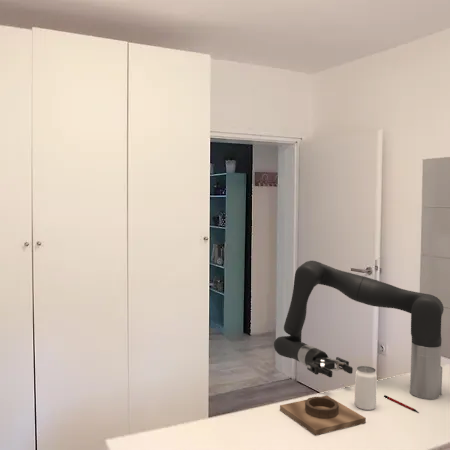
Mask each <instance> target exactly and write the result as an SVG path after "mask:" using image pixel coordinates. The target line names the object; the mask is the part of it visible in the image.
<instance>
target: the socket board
mask: <svg viewBox="0 0 450 450" xmlns="http://www.w3.org/2000/svg"><path fill="white" fill-rule="evenodd" d="M279 410H280V411H281V412H282V413H283V414H285V415H286V416H287V417H289V418H291V420H293V421H294V422H296V423H298V424H299V425H300V426H301V427H302V428H304V429H306V430H307V431H308V432H309V433H311V434H312V435H314V436H319V435H323V434H326V433H327V434H328V433H331V432H334V431H335V432H336V431H338V430H342V429H343V430H344V429H347V428H352V427H354V426H355V427H356V426H359V425H362V424H366V420H367V418H366V417H365V416H363V415H362V414H360V413H358V412H357V411H354V410H353V409H351V408H349V407H348V406H346V405H345V404H342V403H341V402H339V401H337V400H336V399H334V398H332V397H331V396H328V395H322V396H313V397H309V398H306V399H304V400H303V399H302V400H298V401H294V402H290V403H285V404H280V405H279Z"/></svg>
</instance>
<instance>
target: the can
mask: <svg viewBox="0 0 450 450" xmlns="http://www.w3.org/2000/svg"><path fill="white" fill-rule="evenodd" d="M356 367H357V366H356ZM377 375H378V374H377V372H376V368H375V367H372V366H370V365H369V366H367V365H360V366H358V367H357V368H356V371H355V381H354V405H355V407H356V408H357V409H359V410H363V411H373V410H374V409H376V407H377V389H378V388H377V386H378V385H377V383H378V381H377V378H378V376H377Z"/></svg>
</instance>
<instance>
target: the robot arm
mask: <svg viewBox="0 0 450 450" xmlns="http://www.w3.org/2000/svg"><path fill="white" fill-rule="evenodd" d="M293 278H294V280H293V288H292V295H291V301H290V305H289V308H288V311H287V315H286V318H285V320H284V321H285V322H284V325H283V331H284V333H286V336H285V335H283V336H279V337H276V338H275V340H274V342H273V347H274V351H275V352H276V353H277V354H278V355H280V356H281V357H285V358H288V359H294V360H295V361H297V362H299V363H301V364H302V365H303V366H305V367H306V369H307V371H310V372H311V373H312V374H314V375H319V374H320V375H324V376H327V377H328V378H332V377H333V371H336V372H338V371H344V372H346V373H347V374H350V375H352V374H353V371H354V369H353V368H354V367H352V366H350V361H349V360H346V359H343V358H341V357H339V356H337V357H336V358H335V359H334V358H332V357H329V355H328V354H327V353H326V352H325V351H323V350H321V349H319V348H317V347H315V346H312V345H309V344H307V343H304V342H302V330H303V327H304V324H305V321H306V317H307V306H308V301H309V298H310V296H311V294H312V292H313V290H314V288H315V287H316V286H318V285H322V286H327V287H330V288H333V289H335V290H337V291H339V292H340V293H342V294H344V295H345V296H346V297H348V298H349V299H350V300H352V301H355V302H358V303H362V304H364V305H368V306H372V307H378V308H386V309H395V310H400V311H403V312H406V313H408V314H410V335H411V349H410V350H411V355H410V377H409V378H410V380H409V383H410V384H409V393H410V395H412V396H414V397H417V398H419V399H424V400H436V399H438V398H439V397H440V396H442V393H443V392H442V387H443V386H442V385H443V366H441V362H442V358H441V357H442V316H443V313H444V304H443V302H442V301H441V299H440V298H438V297H437V296H435V295H432V294H429V293H422V292H418V291H414V290H413V291H412V290H408V289H403V288H400V287H399V286H398V287H397V286H395V285H392V284H389V283H386V282H383V281H380V280H377V279H375V278H371V277H367V276H363V275H359V274H355V273H352V272H349V271H344V270H341V269H336V268H334V267H332V266H329V265H326V264H324V263H322V262H319V261H316V260H308V261H305V262H304V263H302V264H301V265H300V266H298V267H297V268H296V271H295V273H294V277H293ZM335 366H336V367H335Z"/></svg>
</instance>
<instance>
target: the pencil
mask: <svg viewBox="0 0 450 450" xmlns="http://www.w3.org/2000/svg"><path fill="white" fill-rule="evenodd" d="M384 397H385V398H384ZM383 398H384V399H386V398H387V400H389V401H391V402H393V403H395V404H397V405H399V406H402V407H404V408H405V409H408V410H410V411H412V412H414V413H418V414H420V411H418V410H417V409H416V408H413V407H412V406H409V405H407V404H405V403H403V402H400V401H399V400H396V399H394V398H392V397H389V396H388V395H386V394H384V395H383Z"/></svg>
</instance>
